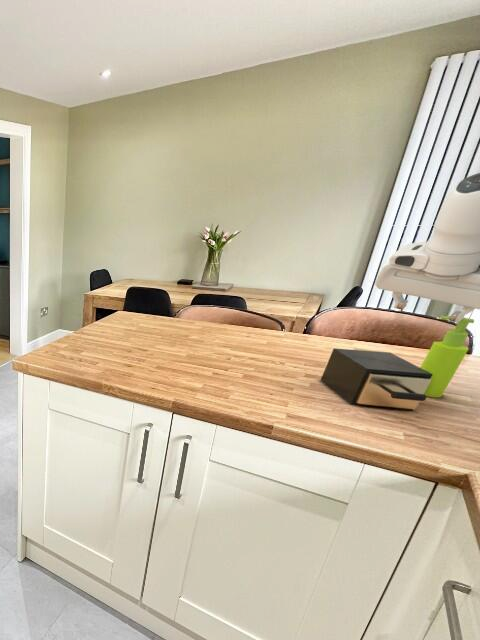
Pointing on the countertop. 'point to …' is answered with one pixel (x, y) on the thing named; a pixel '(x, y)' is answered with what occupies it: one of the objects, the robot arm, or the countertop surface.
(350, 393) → the black drawer box
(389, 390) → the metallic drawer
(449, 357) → the soap dispenser
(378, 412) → the countertop surface
